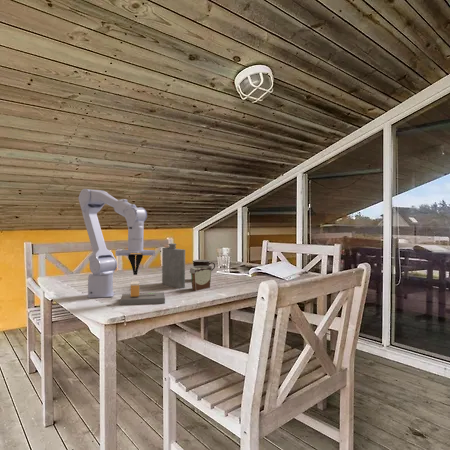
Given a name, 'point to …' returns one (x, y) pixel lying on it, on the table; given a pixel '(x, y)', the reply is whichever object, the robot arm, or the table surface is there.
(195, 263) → the coffee mug
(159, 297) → the panel
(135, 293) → the knob
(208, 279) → the food container
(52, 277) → the table surface
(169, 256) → the hip flask
